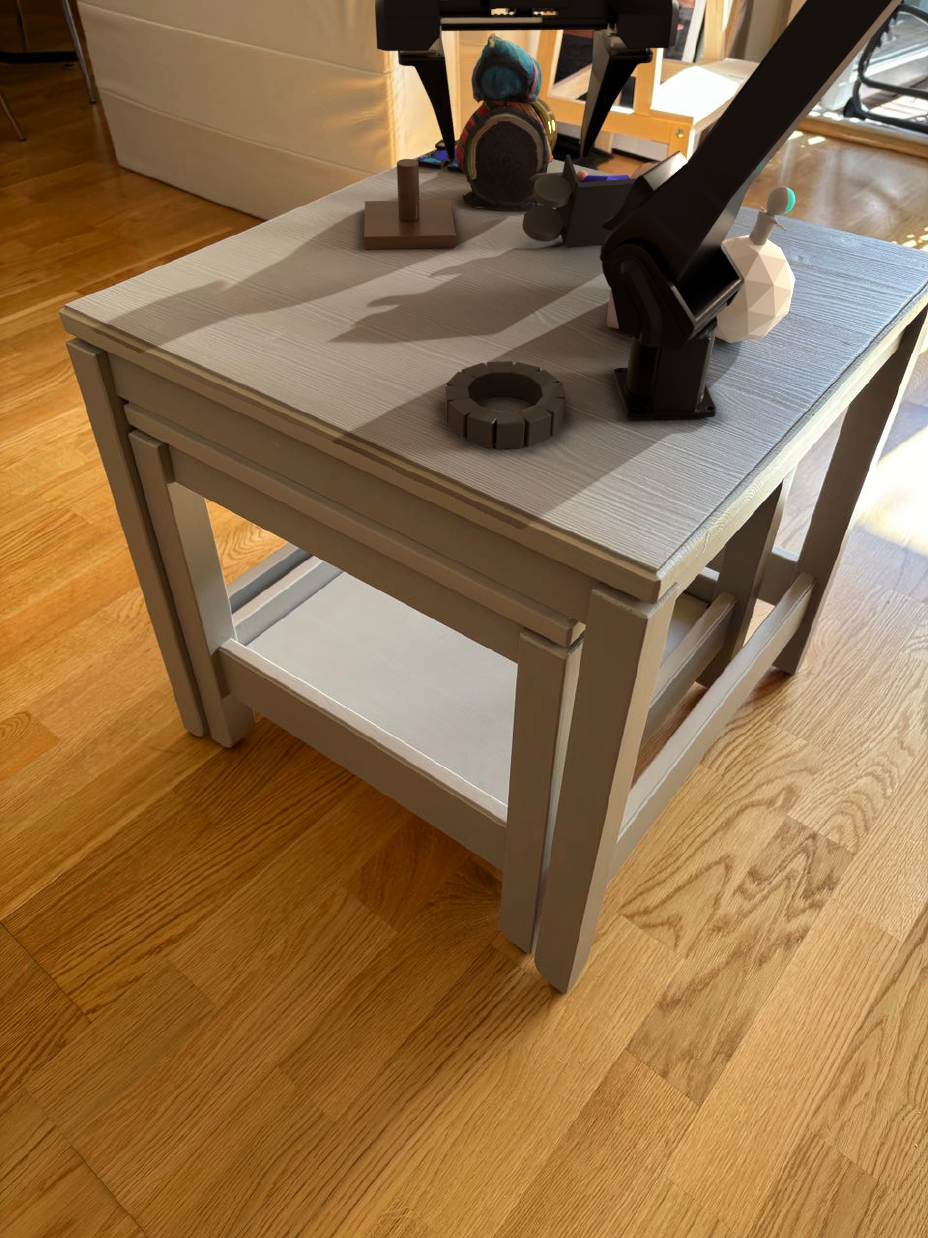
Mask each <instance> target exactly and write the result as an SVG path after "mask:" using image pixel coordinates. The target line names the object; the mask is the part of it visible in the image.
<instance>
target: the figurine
mask: <svg viewBox="0 0 928 1238" xmlns="http://www.w3.org/2000/svg"><path fill="white" fill-rule="evenodd" d="M542 76H543V75H542V70H541V64H540V63H539V62H538V61H537V60H536V58H535V57H534V56H532V55H531V54H530V53H528V51H526V49H524V48H522V47H521V46H520V45H517V44H515V43H513V42H511V41H510V40H507V39H503V38H502V37H499V36H497V35H496V33H495V32H493V33H491V34H490V35H489V36H488V38H487V43H486V44H485V45H484V47H483V49H482V50H481V55H480V57H479V58H478V59H477V61H476V64H475V65H474V68H473V70H472V74H471V90H472V98H473V99H474V100H475V102H477V104H480V102H482V103H481V105H479V107H477V109H475V111H474V112H473V113H472V114H471V115H470V117H469V118H468V120H467V121H466V123H465V125H464V126H463V128H462V132H461V134H460V136H459V138H458V140H459V141H458V140H457V141H458V145H457V148H456V154H457V165H458V167H460V168H461V169H462V170H463V172H464V173H463V174H464V175H465V178H466V182H467V183H468V184H469V186H470V189H471V190H470V191H469V192H467V193H465V194H462V198H463V202H464V204H465V205H466V206H467V207H472V208H479V209H485V210H495V211H504V212H505V211H507V212H509V211H510V212H524V211H525V212H526V211H527V210H528V209H530V208H531V207H534V206H539V205H541V204H540V203H533V202H531V201H529V200H527V198H528V197H530V196H531V195H532V194H533V190H534V184H535V183H534V182H533V181H531V180H529V179H530V178H531V177H532V176H534V175H535V174H540V173H548V167H549V164H550V163H552V162H553V160H554V156H553V151H552V152H551V149H550V145H549V141H548V138H547V134H546V132H545V129H544V127H543V124H542V122H541V120H540V118H539V117H538V115H537V114H536V112H535V111H534V110H533V108H532V107H531V106H530V105H528V104H527V103H530V102H536V101H537V99H538V97H539V94H540V93H541V88H542Z"/></svg>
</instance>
